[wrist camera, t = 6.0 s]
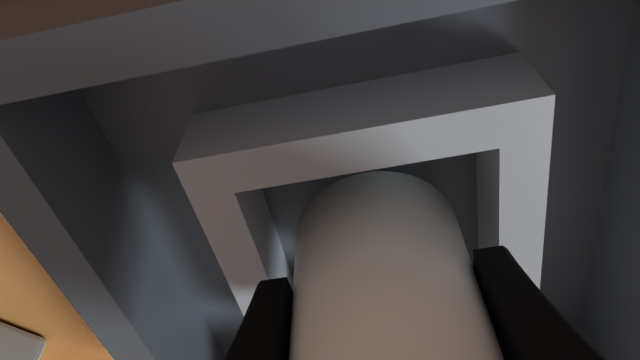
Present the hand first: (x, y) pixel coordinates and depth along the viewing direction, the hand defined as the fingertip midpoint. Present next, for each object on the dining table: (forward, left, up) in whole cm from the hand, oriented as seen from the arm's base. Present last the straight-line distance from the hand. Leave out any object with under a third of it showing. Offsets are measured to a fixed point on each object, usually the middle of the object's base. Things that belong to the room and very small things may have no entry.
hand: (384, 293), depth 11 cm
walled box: (0, 0, -3) cm, 3 cm away
